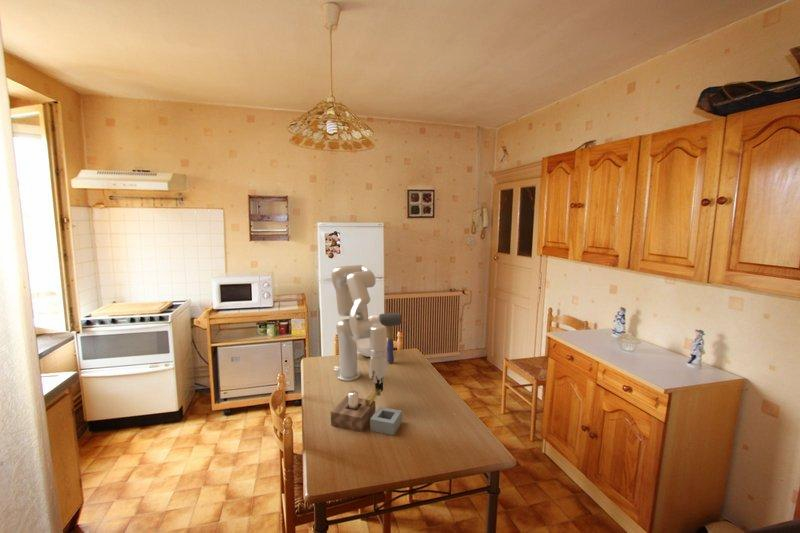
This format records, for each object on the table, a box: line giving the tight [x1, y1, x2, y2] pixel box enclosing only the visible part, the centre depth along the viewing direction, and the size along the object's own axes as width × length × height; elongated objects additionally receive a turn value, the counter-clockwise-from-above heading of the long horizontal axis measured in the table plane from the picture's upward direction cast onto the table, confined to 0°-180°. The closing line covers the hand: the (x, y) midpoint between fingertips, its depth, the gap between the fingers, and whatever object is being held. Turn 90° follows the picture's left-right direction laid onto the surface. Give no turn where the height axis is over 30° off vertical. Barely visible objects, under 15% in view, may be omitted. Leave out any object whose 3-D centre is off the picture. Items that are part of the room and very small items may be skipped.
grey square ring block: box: [369, 406, 403, 436], centre depth 150 cm, size 10×10×5 cm
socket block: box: [330, 395, 377, 432], centre depth 155 cm, size 14×14×6 cm
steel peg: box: [347, 390, 359, 411], centre depth 154 cm, size 4×4×12 cm
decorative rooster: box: [352, 314, 379, 358], centre depth 225 cm, size 25×16×25 cm, turn 109°
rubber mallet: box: [378, 312, 402, 364], centre depth 212 cm, size 12×8×30 cm, turn 101°
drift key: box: [364, 387, 382, 406], centre depth 159 cm, size 4×10×2 cm, turn 160°
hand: (379, 390), depth 166 cm, fingers closed
